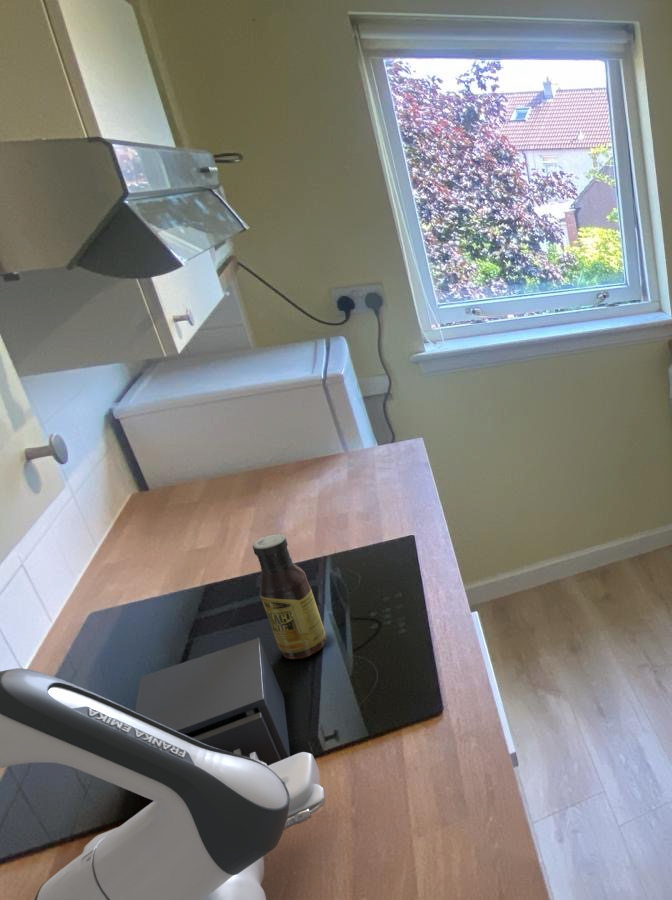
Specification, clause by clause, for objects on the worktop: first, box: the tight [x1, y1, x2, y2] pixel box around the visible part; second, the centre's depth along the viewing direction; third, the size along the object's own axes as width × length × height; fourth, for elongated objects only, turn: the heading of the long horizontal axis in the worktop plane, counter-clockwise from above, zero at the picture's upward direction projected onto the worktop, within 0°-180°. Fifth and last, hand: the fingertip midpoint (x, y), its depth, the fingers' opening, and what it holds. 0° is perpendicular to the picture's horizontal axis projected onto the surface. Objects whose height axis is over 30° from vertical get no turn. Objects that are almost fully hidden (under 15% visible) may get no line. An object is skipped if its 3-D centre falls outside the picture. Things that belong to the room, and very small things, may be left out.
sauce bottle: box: [252, 533, 328, 660], centre depth 111 cm, size 6×6×20 cm
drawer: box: [184, 708, 281, 766], centre depth 90 cm, size 18×12×9 cm, turn 36°
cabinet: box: [134, 637, 291, 760], centre depth 94 cm, size 15×13×11 cm
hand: (211, 774), depth 85 cm, fingers closed on drawer, 6 cm apart
